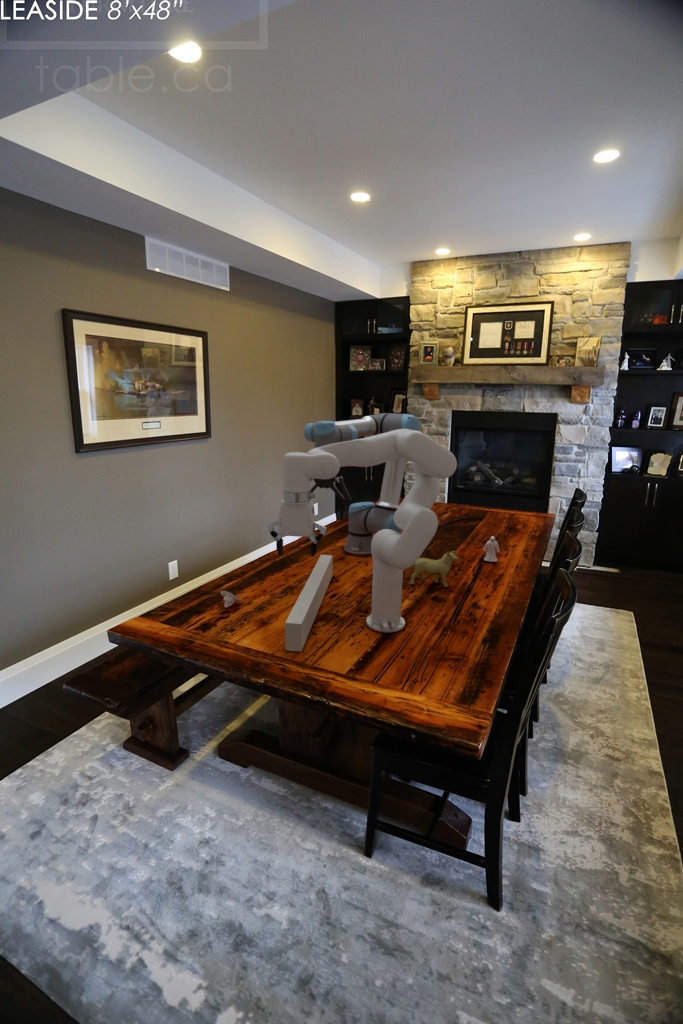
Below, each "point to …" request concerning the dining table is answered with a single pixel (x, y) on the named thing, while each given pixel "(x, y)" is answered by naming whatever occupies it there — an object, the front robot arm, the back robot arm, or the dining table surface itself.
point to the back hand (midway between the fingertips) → (324, 518)
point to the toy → (434, 567)
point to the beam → (308, 604)
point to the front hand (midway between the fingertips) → (296, 554)
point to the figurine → (491, 550)
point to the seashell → (229, 598)
